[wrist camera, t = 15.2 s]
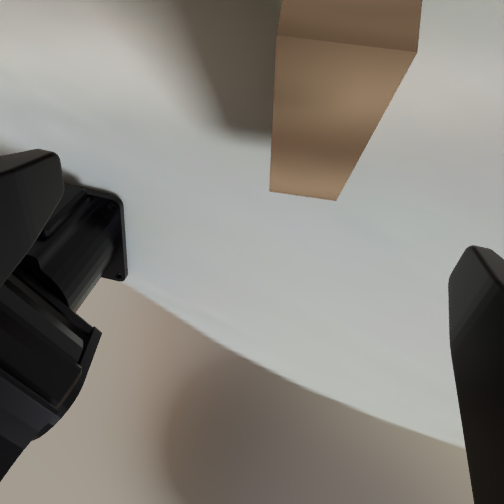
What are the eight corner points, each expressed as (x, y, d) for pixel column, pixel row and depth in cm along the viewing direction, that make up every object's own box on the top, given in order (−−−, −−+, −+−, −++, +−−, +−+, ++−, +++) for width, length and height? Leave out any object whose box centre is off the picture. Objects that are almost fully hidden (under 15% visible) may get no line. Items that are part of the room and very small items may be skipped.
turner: (378, 123, 19) (369, 205, 19) (250, 106, 20) (236, 186, 19) (882, -795, 4) (957, -502, 3) (199, -805, 4) (106, -539, 3)
